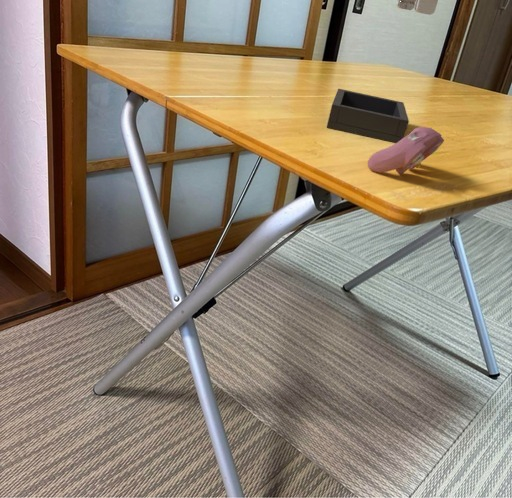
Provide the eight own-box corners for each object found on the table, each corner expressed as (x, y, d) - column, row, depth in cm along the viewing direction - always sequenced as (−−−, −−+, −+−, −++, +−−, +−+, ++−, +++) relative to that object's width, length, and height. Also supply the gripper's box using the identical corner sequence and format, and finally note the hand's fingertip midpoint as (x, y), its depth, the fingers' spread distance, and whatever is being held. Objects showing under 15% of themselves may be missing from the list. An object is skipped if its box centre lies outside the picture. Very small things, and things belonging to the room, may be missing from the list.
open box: (397, 122, 90) (403, 102, 88) (401, 144, 76) (409, 120, 75) (333, 108, 91) (338, 88, 89) (326, 127, 77) (332, 104, 76)
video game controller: (387, 191, 60) (430, 149, 56) (361, 164, 61) (401, 120, 57) (417, 177, 68) (457, 138, 64) (393, 152, 69) (431, 112, 65)
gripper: (533, -165, 41) (470, 23, 47) (458, -119, 59) (420, 12, 65) (456, -180, 41) (403, 10, 47) (404, -130, 59) (371, 2, 65)
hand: (413, 11), depth 56 cm, fingers open, 8 cm apart
